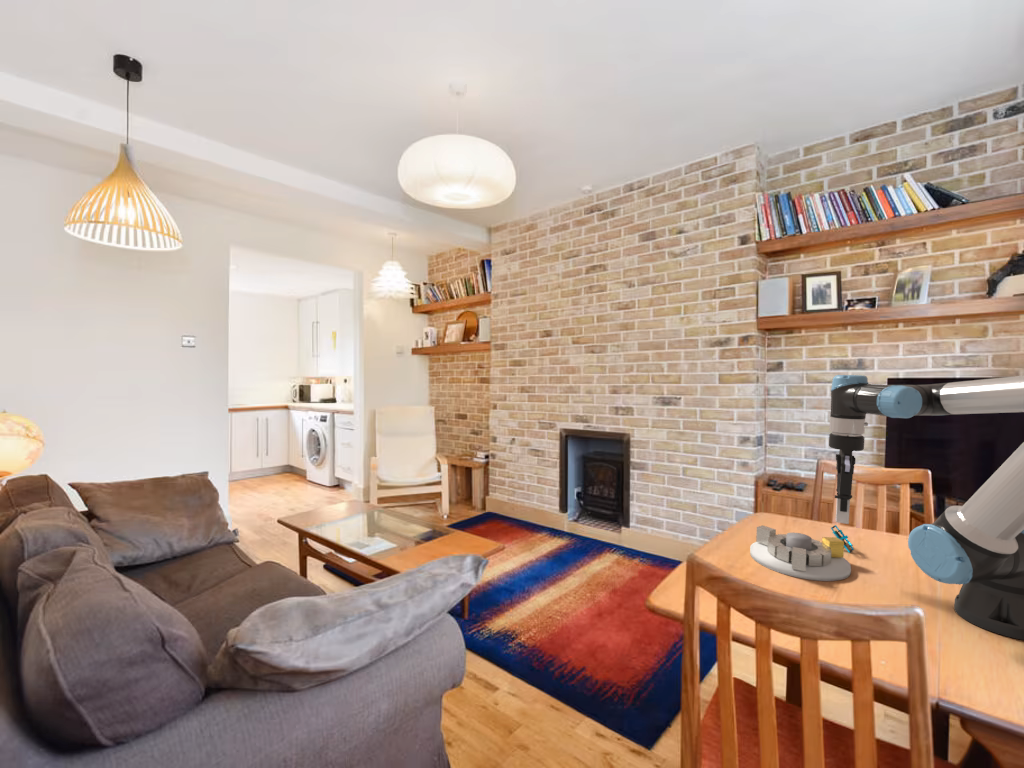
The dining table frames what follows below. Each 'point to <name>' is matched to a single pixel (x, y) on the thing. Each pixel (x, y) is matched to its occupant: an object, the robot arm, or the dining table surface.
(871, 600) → the dining table surface
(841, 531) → the stick construction toy
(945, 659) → the dining table surface
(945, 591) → the dining table surface
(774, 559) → the white shallow round piece
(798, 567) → the grey segmented ring
